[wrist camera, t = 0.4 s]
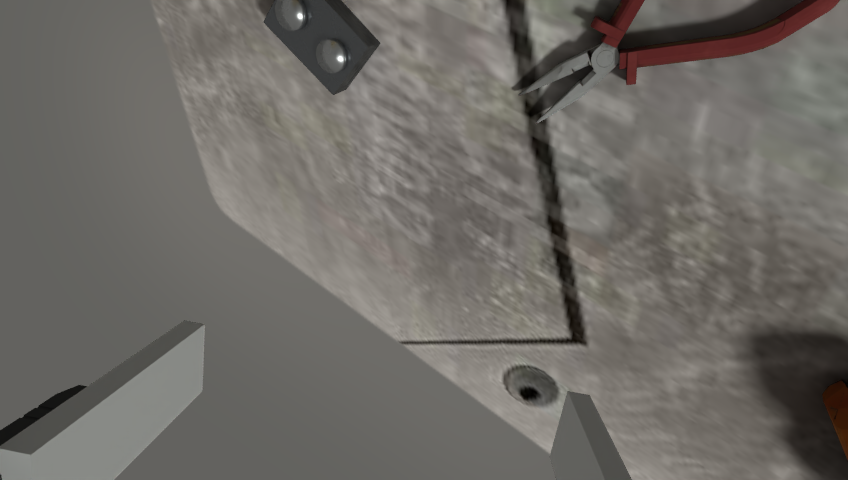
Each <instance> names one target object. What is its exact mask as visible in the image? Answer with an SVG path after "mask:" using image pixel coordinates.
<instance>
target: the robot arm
mask: <svg viewBox="0 0 848 480" xmlns="http://www.w3.org/2000/svg"><path fill="white" fill-rule="evenodd" d="M204 333H205V324H201V323H196V322H190V321H185V320H184V321H183V322H181V323H180V324H178V325H177V326H175V327H174V328H173V329H171V330H170V331H168V332H167V333H165V334H164V335H162V336H161V337H159V338H158V339H156V340H155V341H153V342H152V343H151V344H149V345H148V346H146V347H145V348H143V349H142V350H140V351H139V352H137V353H136V354H134V355H133V356H131V357H130V358H129V359H127V360H126V361H124V362H123V363H121V364H120V365H118V366H117V367H115V368H114V369H112V370H111V371H109V372H108V373H107V374H105V375H104V376H102V377H101V378H99V379H98V380H96V381H95V382H93V383H92V384H90V385H89V386H81V385H78V386H76V387H73V388H70V389H68V390H65V391H63V392H61V393H58V394H56V395H54V396H53V397H51V398H50V399H48V400H47V401H45V402H44V403H42V404H40V405H39V407H38V408H34V409H33V410H31V411H30V412H28V413H27V414H25V415H24V417H23V418H19V419H17V420H16V421H14V422H13V423H11V424H10V425H8V426H6V427H5V428H3V429H2V430H0V480H114V479H115V478H116V477H117V476H118V475H119V474H120V473H121V472H122V471H123V470H124V469H125V468H126V467H127V466H128V465H129V464H130V463H131V462H132V461H133V460H134V459H135V458H136V457H137V456H138V455H139V454H140V453H141V452H142V451H143V450H144V449H145V448H146V447H147V446H148V445H149V444H150V443H151V442H152V441H153V440H154V439H155V438H156V437H157V436H158V435H159V434H160V433H161V432H162V431H163V430H164V429H165V428H166V427H167V426H168V425H169V424H170V423H171V422H172V421H173V420H174V419H175V418H176V417H177V415H179V414H180V413H181V412H182V411H183V410H184V409H185V408H186V407H187V406H188V405H189V404H190V403H191V402H192V401H193V400H194V399H195V398H196V397H197V396H198V395H199V394H200V393H201V391H202V386H203V359H204ZM550 460H551V463H552V467H553V470H554V474H555V478H556V480H632V479H631V477H630V475H629V473H628V471H627V469H626V467H625V465H624V463H623V461H622V459H621V457H620V455H619V453H618V451H617V449H616V447H615V445H614V443H613V441H612V439H611V437H610V435H609V433H608V431H607V429H606V427H605V425H604V423H603V421H602V419H601V417H600V415H599V413H598V411H597V409H596V407H595V405H594V403H593V401H592V399H591V397H590V395H586V394H581V393H575V392H570V391H568V392H567V395H566V399H565V403H564V406H563V410H562V414H561V417H560V421H559V425H558V428H557V432H556V436H555V439H554V443H553V447H552V450H551V454H550Z"/></svg>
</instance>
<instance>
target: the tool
mask: <svg viewBox="0 0 848 480" xmlns="http://www.w3.org/2000/svg"><path fill="white" fill-rule="evenodd" d="M822 395H823V401H824V404H825V406H826V409H827V411H828V414H829V416H830V419H831V421H832V424H833V426H834V429H835V431H836V433H837V436H838V438H839V441H840V443H841V445H842V448H843V450H844V452H845V455H846V458H847V460H848V388H847V386H846V385H845V384H844V383H843V381H842V380H841V381H839V382H837V383H834V384H832V385H830V386H828V388H827V389H826V390H825V392H824V393H823V394H822Z"/></svg>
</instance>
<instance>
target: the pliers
mask: <svg viewBox="0 0 848 480" xmlns="http://www.w3.org/2000/svg"><path fill="white" fill-rule="evenodd" d="M839 1H840V0H804V1H802V2H801V3H799V4H797V5H796V6H794V7H793V8H791V9H789V10H788V11H786V12H785V13H783V14H781V15H780V16H778V17H777V18H775V19H773V20H771V21H769V22H767V23H765V24H763V25H761V26H758V27H756V28H753V29H750V30H747V31H743V32H739V33H734V34H730V35H722V36H715V37H708V38H700V39H693V40H685V41H678V42H671V43H663V44H656V45H648V46H641V47H634V48H627V49H620V51H619V50H618V47H617V46H618V44H619V42H620V41H621V39H622V38H623V36H624V34H625V33H626V31H627V29H628V27H629V26H630V24H631V22H632V21H633V19H634V17H635V16H636V14H637V12H638V11H639V9H640V7H641V6H642V4H643V2H644V0H621V2H620V4H619V5H618V7H617V9H616V11H615V13H614V14H613V16H612V18H611V20H610V21H609V22H608V21H606V20H604V19H602V18H600V17H598V16H595V18H594V20H593V22H592V24H591V27H592V28H594V29H596V30H598V31H600V32H602V33H604V34H603V36H602V38H601V41H602V43H601V44H598V45H596V46H594V47H592V48H590V49H588V50H586V51H584V52H582V53H580V54H578V55H576V56H573V57H571V58H569V59H567V60H565V61H563V62H562V63H560V64H558V65H557V66H556V67H554V68H553V69H552V70H550V71H549V72H548V73H546V74H545V75H544V76H542V77H541V78H540V79H538V80H537V81H536V82H534V83H533V84H532V85H530V86H529V87H528V88H526V89H525V90H524V91H522V92H521V93H520V94H519V95H518V96H521V95H523V94H525V93H528V92H530V91H532V90H535V89H537V88H540V87H542V86H544V85H547V84H549V83H551V82H554V81H556V80H558V79H561V78H563V77H565V76H568V75H570V74H572V73H574V72H575V71H577V70H579V69H582V68H584V67H586V66H588V65H592V67H593V70H592V71H591V72H590V73H589V74H588V75H587V76H586V77H585V78H584V79H583V80H582V79H580V80H579V81H578V82H577V83H576V84H575V85H574V86H573V87H572V88H571V89H570V90H569V91H568V92H567V93H566V94H564V95H563V96H562V97H561V98H560V99H559V100H558V101H557V102H556V103H555V104H554V105H553V106H552V107H551V108H550V109H549V110H548V111H547V112H546V113H545V114H544V115H543V116H542V117H541V118H540V119H539V120H538V121H537V122H536V124H537V123H539V122H540V121H542V120H544V119H546V118H547V117H549V116H551V115H552V114H554V113H556V112H557V111H559V110H561V109H562V108H564V107H566V106H568V105H569V104H571V103H573V102H574V101H576V100H578V99H579V98H581V97H582V96H583V95H585V94H586V93H587V92H588V91H589V90H590V89H591V88H593V87H594V86H595V85H596V84H597V83H598V82H599V81H600V80H602V79H603V78H604V77H605V76H606V75H607V74H608V73H609V72H610V71H611V70H612V69H614V68H615V67H616V66H617V65H619V69H627V71H626V85H631V84H636V72H637V68H638V67H646V66H654V65H663V64H671V63H679V62H688V61H696V60H705V59H713V58H721V57H730V56H735V55H741V54H745V53H749V52H753V51H756V50H760V49H763V48H766V47H768V46H771V45H773V44H775V43H778V42H779V41H781V40H782V39H784V38H786V37H787V36H789V35H791V34H792V33H794V32H796V31H797V30H799V29H800V28H802V27H804V26H805V25H807V24H809V23H810V22H812V21H814V20H815V19H817V18H818V17H820V16H822V15H823V14H825V13H827V12H828V11H830V10H831V9H832V8H833V7H834V6H835V5H836V4H837V3H838V2H839Z"/></svg>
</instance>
